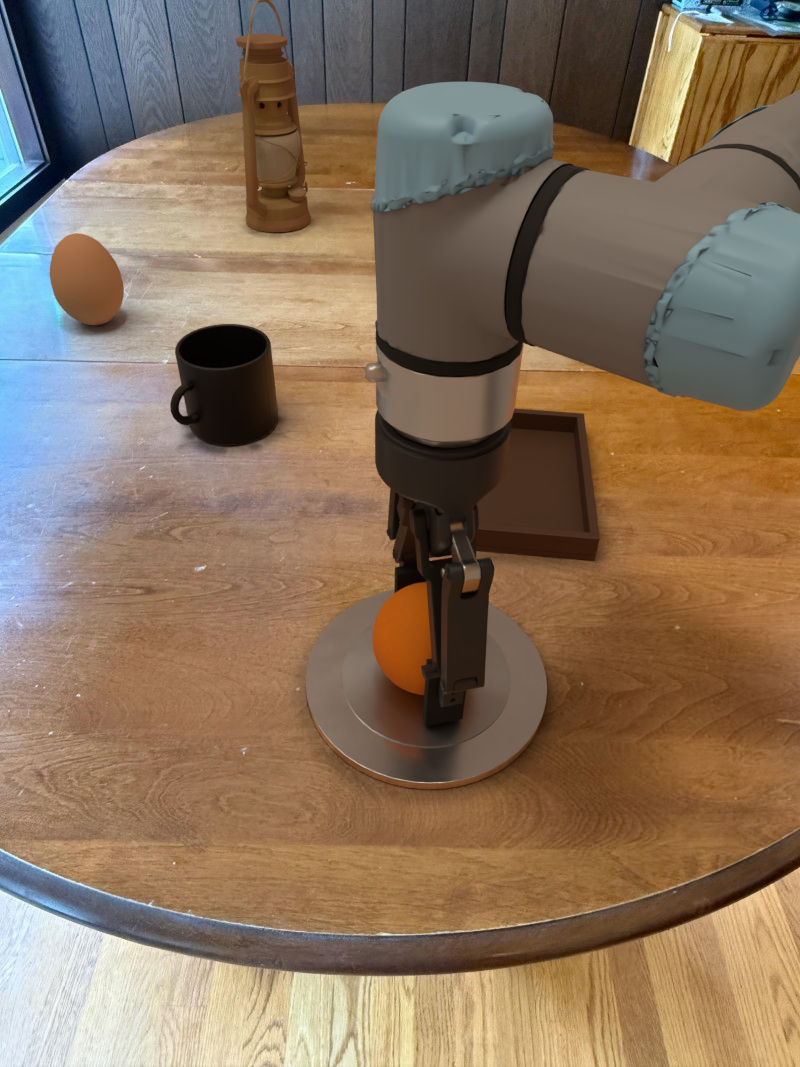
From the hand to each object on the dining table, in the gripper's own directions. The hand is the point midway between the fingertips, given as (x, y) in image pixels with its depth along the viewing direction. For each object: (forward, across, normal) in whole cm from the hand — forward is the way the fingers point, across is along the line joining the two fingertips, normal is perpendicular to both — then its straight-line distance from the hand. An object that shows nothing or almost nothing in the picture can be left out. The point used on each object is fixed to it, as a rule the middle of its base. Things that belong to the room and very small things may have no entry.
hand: (426, 669), depth 58 cm
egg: (+1, -64, -26) cm, 69 cm away
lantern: (+1, -94, +1) cm, 94 cm away
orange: (-4, 0, 0) cm, 4 cm away
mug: (+1, -37, -12) cm, 39 cm away
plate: (+1, 0, 0) cm, 1 cm away
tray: (+1, -21, +14) cm, 25 cm away
